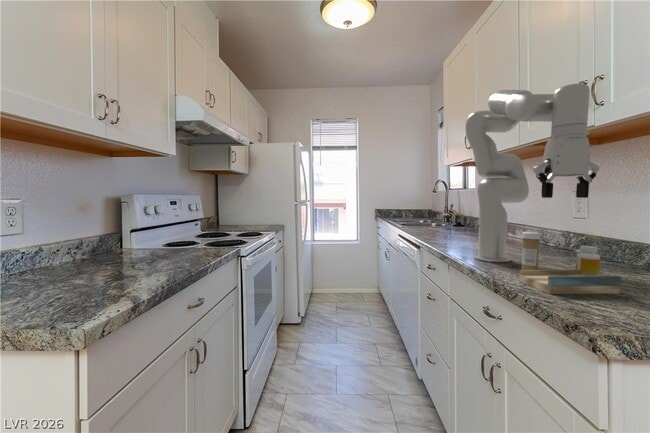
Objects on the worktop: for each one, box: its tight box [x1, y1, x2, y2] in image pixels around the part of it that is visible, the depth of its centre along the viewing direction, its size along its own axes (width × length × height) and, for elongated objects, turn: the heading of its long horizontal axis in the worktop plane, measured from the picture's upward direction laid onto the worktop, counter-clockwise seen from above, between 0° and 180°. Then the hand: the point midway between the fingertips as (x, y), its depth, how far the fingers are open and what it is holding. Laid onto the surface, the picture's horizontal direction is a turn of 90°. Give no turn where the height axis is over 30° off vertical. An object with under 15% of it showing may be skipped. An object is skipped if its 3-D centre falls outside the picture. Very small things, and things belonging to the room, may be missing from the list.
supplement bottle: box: [575, 245, 601, 276], centre depth 91 cm, size 5×5×10 cm
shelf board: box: [518, 269, 622, 295], centre depth 83 cm, size 12×18×4 cm, turn 91°
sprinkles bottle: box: [521, 231, 541, 270], centre depth 95 cm, size 5×5×14 cm
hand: (564, 197), depth 83 cm, fingers open, 9 cm apart
